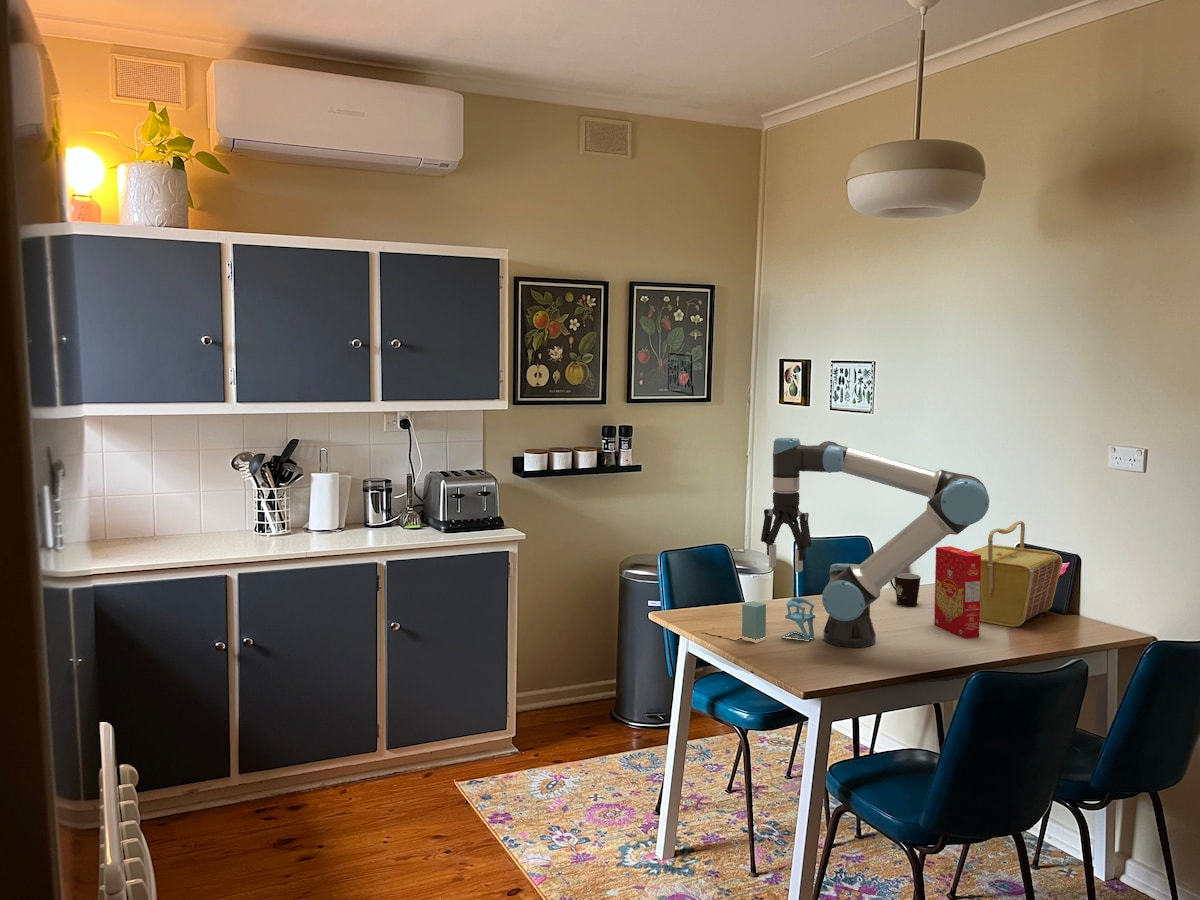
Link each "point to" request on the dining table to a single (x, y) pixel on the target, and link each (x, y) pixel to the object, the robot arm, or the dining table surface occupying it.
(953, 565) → the food packaging
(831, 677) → the dining table surface
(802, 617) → the chair
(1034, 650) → the dining table surface
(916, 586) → the coffee mug
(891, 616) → the dining table surface
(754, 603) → the teal block
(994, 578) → the picnic basket
